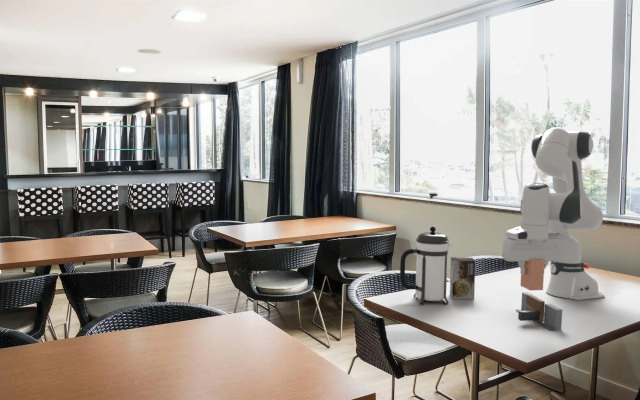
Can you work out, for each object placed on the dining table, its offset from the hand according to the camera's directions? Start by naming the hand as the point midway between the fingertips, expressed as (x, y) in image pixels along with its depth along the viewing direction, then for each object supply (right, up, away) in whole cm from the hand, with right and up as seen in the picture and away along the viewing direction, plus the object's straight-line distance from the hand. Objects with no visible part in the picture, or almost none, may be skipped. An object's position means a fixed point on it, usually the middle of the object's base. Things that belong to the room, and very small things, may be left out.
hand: (532, 274), depth 173 cm
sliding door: (+3, -18, +13) cm, 22 cm away
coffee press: (-27, -16, +36) cm, 48 cm away
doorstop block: (0, -5, 0) cm, 5 cm away
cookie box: (-12, -16, +42) cm, 46 cm away
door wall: (+7, -18, +14) cm, 24 cm away
